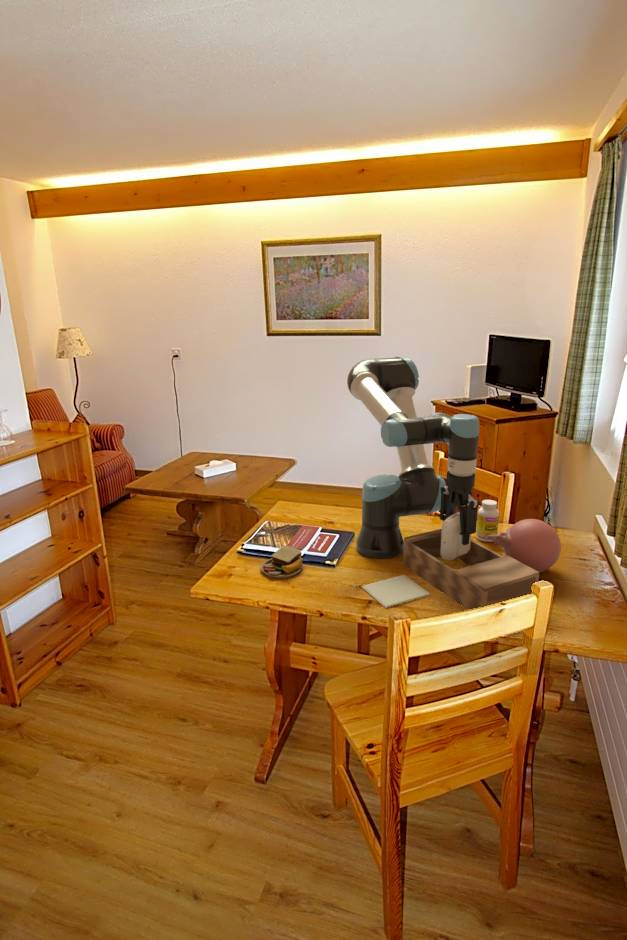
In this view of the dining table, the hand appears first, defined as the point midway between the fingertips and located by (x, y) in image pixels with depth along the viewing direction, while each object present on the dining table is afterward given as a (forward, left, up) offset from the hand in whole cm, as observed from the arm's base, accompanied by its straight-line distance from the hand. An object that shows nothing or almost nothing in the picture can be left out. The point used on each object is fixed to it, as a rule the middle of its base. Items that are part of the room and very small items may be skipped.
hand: (455, 549), depth 159 cm
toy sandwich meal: (-28, -42, -9) cm, 51 cm away
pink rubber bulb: (+6, +20, -8) cm, 22 cm away
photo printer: (0, 0, -2) cm, 2 cm away
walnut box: (+5, 0, -8) cm, 10 cm away
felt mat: (0, -20, -8) cm, 22 cm away
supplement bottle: (-15, +26, -8) cm, 31 cm away
